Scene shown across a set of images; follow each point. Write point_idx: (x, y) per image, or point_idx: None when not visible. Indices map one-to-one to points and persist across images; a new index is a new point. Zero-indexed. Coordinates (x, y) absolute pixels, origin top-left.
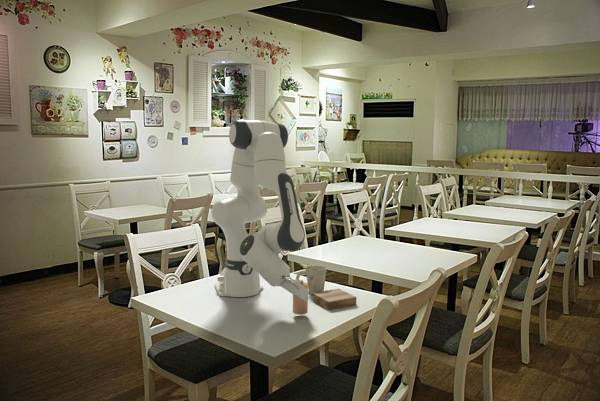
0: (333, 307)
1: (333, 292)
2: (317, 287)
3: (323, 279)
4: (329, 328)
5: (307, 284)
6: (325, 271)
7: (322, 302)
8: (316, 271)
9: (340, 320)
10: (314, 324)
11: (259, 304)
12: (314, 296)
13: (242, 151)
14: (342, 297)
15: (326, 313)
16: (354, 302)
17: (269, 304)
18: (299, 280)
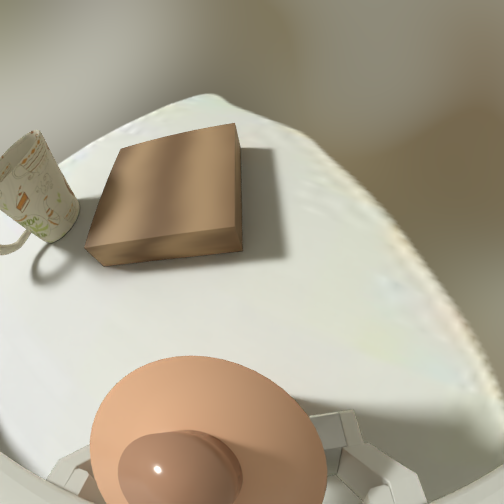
0: (240, 224)
1: (136, 171)
2: (60, 207)
3: (55, 167)
4: (466, 343)
5: (252, 379)
6: (43, 138)
7: (174, 247)
8: (20, 164)
9: (393, 259)
10: (406, 400)
11: (42, 473)
12: (104, 252)
13: None
14: (209, 158)
15: (280, 281)
16: (238, 144)
17: (52, 447)
18: (134, 483)
